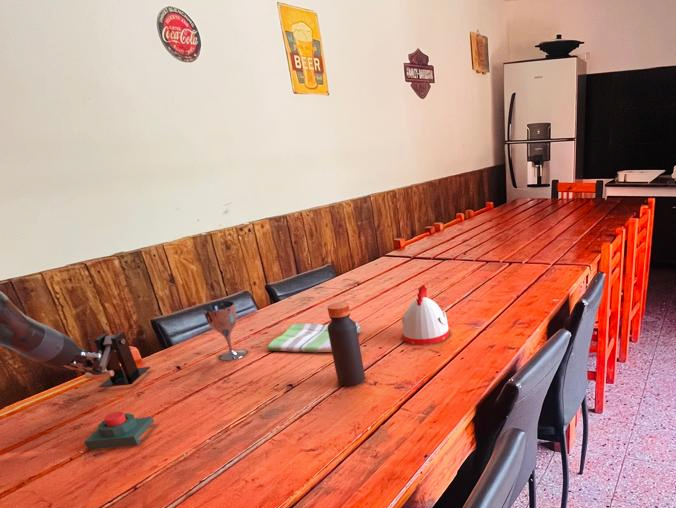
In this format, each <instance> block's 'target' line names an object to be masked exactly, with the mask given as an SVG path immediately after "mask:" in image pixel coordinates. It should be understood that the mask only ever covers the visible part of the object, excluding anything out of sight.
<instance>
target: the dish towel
mask: <svg viewBox="0 0 676 508" xmlns="http://www.w3.org/2000/svg"><path fill="white" fill-rule="evenodd" d="M354 322H355V321H354ZM355 323H356V327H357V333H358V334H360V333H361V332H362V329H361V327H360V322H357V321H356V322H355ZM329 324H330V323H328V324H319V323H293V324H291V325H290V326H289V327H288V328H287V330H285V331H284V333H282V334H281V335H279V336H277V337H274V339H272V340H271V341H270V342H269V343H268V345H267V346H266V350H268V351H275V352H276V351H277V352H293V353H296V352H302V353H303V352H304V353H332V349H331V344H330V339H329V334H328V325H329Z"/></svg>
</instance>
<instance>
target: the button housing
mask: <svg viewBox="0 0 676 508" xmlns="http://www.w3.org/2000/svg"><path fill="white" fill-rule="evenodd" d="M124 415H125V417H126V421H125V422H124V423H122V424H120V425H117V426H114V427H107V425H106V423H105V421H104V420H102V421H101V422H100V423H99V424H98V425H97V428H96V429H95V431H93V432H92V433H91V434H90V435H89V436H88V437H87V438H86V439H85V440H84V441H83V443H84V445H85V447H86V449H87V450H88V451H93V450H102V449H112V448H122V447H130V446H131V447H132V446H139V444H140V443H141V442H142V441H143V440H144V439H142V438H141V437H142V436H143V434H145V432H146V431H147V430H148V429H149V428H150V427H151V425H152V424H153V423H154V421H155V420H154V418H153V416H146V417H145V416H144V417H136V416H135V415H134V414H133V413H124ZM150 431H151V430H150ZM150 431H149V432H150ZM149 432H148V433H149ZM140 438H141V439H140Z"/></svg>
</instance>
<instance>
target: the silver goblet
mask: <svg viewBox="0 0 676 508" xmlns="http://www.w3.org/2000/svg"><path fill="white" fill-rule="evenodd" d="M202 312H203V315H204V317H205V318H204V319H205V320H206V322H207V324H208V326H209V327H210V328H211V329H212V330H214V332H216V333H218V334H220V335H222V336H223V337H224V339H225V342H226V343H227V346H228V348H229V351H226V352H224V353H222V354H221V355H219V357H218V359H219V360H221V361H233V360H238V359H240V358H242V357H244V356H245V355H246V353H247V352H246V350H243V349H233V346H232V342H231V334H232V332H233V331H234V328H235V327H236V324H237V320H238V319H237V310H236V306H235V303H234V302H233V301H228V300H227V301H217V302H212V303H209V304H206V305H205V306H203V307H202Z"/></svg>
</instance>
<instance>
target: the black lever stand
mask: <svg viewBox="0 0 676 508" xmlns="http://www.w3.org/2000/svg"><path fill="white" fill-rule="evenodd" d="M114 335H115V336H114V337H112V338H111V341H112V344H113V346H114V349H113V350H112V353H111V355H110V358H109V361H108V363H107V366H106V369H105V371H111V370H112V371H114V376H109V377H108V378H107V379H106V380H105V381H103V383H102V384H100V385H99V386H98V387H99V388H106V387H108V388H109V387H118V386H130V385H133V384H134V383H135V382H136V381H137V380H138V379H139V378H140V377H142V375H144V374H145V373H147V371H148V370H149V369H150V366H145V367H138V366H137V363H136V361H135V358H134V356H133V353H132V350H131V347H130V345H129V343H128V339H127V337H126V334H125V333H124V331H119V332H118V333H116V334H114ZM106 336H109V334H108V333H103V334H101V335H99V336H98V337H97V338H95V339H94V340H93V342H94V344H95V346H96V348H97V351H102V356H101V359H102V357H103V354H104V352H105V349H106V347H105V346H104V345H103V343H104V340H105V337H106Z"/></svg>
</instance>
